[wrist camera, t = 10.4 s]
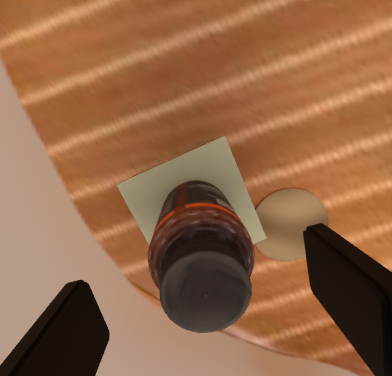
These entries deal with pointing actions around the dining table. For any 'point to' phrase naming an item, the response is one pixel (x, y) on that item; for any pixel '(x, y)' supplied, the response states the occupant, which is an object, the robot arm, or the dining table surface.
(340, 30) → the dining table surface
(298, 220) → the tan round plate
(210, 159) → the grey-green block
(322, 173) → the dining table surface
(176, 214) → the supplement bottle
